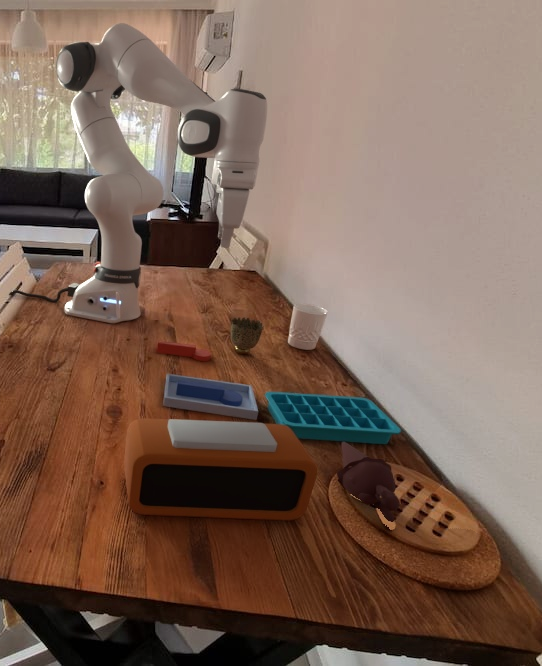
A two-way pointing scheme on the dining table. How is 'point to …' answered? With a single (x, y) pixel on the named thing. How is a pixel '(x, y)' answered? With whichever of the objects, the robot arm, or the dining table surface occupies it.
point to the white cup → (306, 326)
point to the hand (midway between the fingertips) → (223, 242)
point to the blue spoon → (209, 392)
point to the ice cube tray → (331, 417)
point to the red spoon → (183, 350)
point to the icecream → (369, 481)
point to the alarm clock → (217, 469)
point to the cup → (245, 334)
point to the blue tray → (210, 406)
